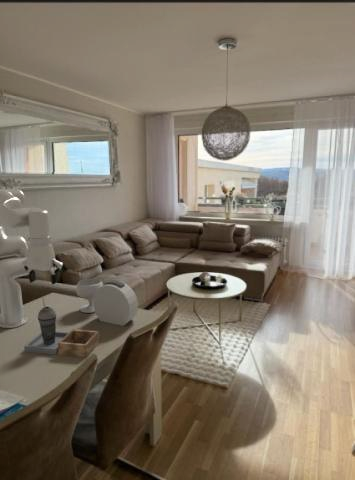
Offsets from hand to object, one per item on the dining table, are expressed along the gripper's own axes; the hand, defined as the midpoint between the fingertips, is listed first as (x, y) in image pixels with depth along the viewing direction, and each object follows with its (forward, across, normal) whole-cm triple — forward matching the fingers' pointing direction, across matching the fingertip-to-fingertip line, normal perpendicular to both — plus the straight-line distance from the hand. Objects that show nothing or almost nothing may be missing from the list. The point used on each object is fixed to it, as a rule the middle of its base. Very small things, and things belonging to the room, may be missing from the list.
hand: (43, 282), depth 135 cm
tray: (+27, +1, -1) cm, 27 cm away
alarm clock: (+27, +20, +26) cm, 43 cm away
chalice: (+28, +2, +37) cm, 47 cm away
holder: (+27, +15, -2) cm, 31 cm away
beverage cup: (+26, +1, 0) cm, 26 cm away
